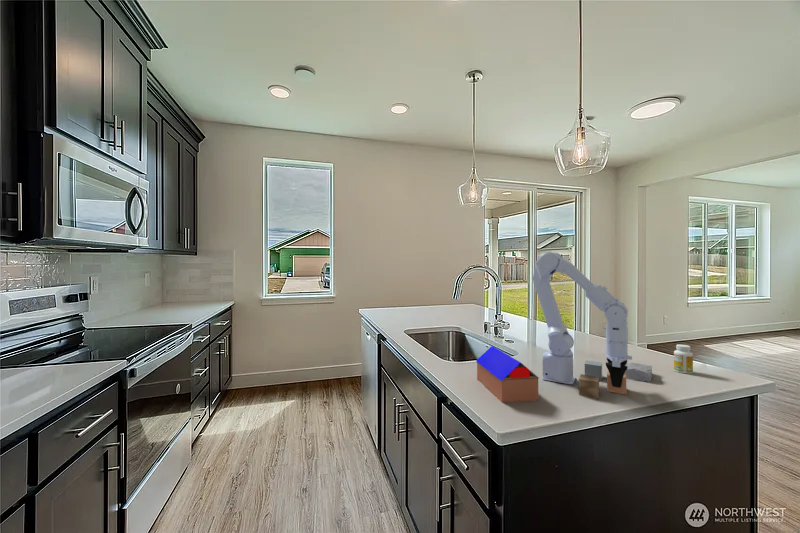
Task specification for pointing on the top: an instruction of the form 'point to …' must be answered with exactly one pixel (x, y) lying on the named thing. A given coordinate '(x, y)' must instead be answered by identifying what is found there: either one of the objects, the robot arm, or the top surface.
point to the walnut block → (589, 386)
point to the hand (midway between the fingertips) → (616, 384)
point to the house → (506, 377)
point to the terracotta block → (616, 389)
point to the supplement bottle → (683, 359)
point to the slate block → (593, 369)
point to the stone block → (638, 372)
